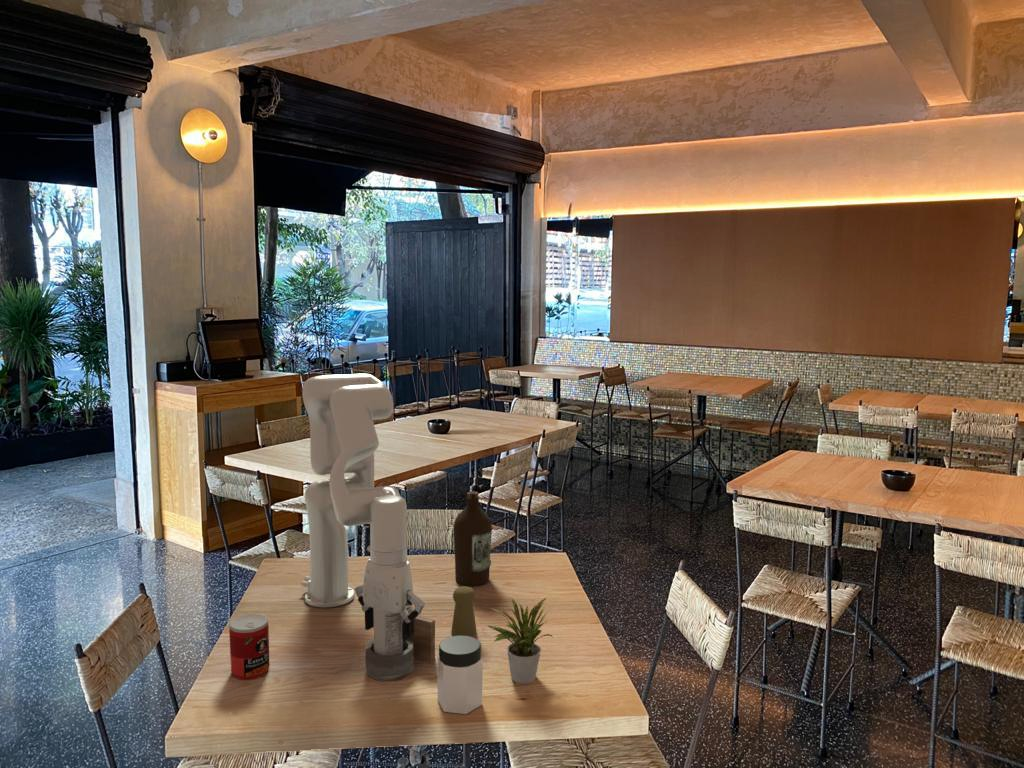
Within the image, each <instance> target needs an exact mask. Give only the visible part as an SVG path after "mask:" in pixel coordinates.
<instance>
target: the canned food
mask: <svg viewBox="0 0 1024 768" xmlns="http://www.w3.org/2000/svg"><path fill="white" fill-rule="evenodd" d="M228 630H229V653H230V672H231V674H232V676H233V677H234V678H236V679H237V680H242V681H247V680H248V681H249V680H251V681H252V680H255V679H258V678H261V677H263V676H264V675H265V674H267V673H268V671H269V669H270V639H269V637H270V635H269V634H270V632H269V631H270V630H269V618H268V617H267V616H266V615H262V614H259V613H258V614H257V613H248V614H243V615H239V616H236V617H235V618H233V619H231V621H229V625H228Z"/></svg>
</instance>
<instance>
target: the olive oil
mask: <svg viewBox="0 0 1024 768" xmlns="http://www.w3.org/2000/svg"><path fill="white" fill-rule="evenodd" d="M466 496H467V497H466V505H465V507H464V508H463V510H461V511H460V512H459V513H458V514H457V516H456V518H455V519H454V523H453V528H452V529H453V544H454V545H453V546H454V571H455V573H454V574H455V577H454V578H455V582H456V583H457V584H459V585H461V586H466V587H476V586H477V587H478V586H482V585H485V584H487V583H488V582H489V581H490V567H491V565H492V561H491V551H492V550H491V547H492V546H491V545H492V531H493V529H492V528H493V527H492V526H493V525H492V522H491V518H490V517H489V515H488V514H487V513H486V512H485V511H484V510H483V509H482V508H481V506H480V497H479V492H478V491H473V490H472V491H468V492H466Z"/></svg>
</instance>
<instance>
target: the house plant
mask: <svg viewBox="0 0 1024 768" xmlns="http://www.w3.org/2000/svg"><path fill="white" fill-rule="evenodd" d="M509 599H510V601H511V603H512V605H513V608H514V610H513V609H512V608H508V609H509V610H510V611H512V613H513V615H514V616H515V618H516V621H517V622H516V621H515V619H514V617H512V616H510V615H509V614H508V613H507V612H505V611H503V610H501V609H497V608H491V607H490V608H489V607H488V609H490V610H494V611H496V612H498V614H499V615H502V616H503V617H506V619H507V620H505V619H503V618H499V621H500V620H502V621H505V622H506V623H508V624H506V627H508V628H510V629H512V630H513V631H514V632H513V631H511V630H508V629H506V628H503V627H500V626H495V625H487V628H490V629H491V631H492V630H493V631H496V632H498V634H496V635H495V636H494V638H495V640H494V641H493V643H495V642H498V641H502V640H505V639H507V640H508V641H510V644H509V645H508V646H507V648H506V651H507V658H508V665H509V672H510V677H511V678H510V679H511V680H512V681H513V682H515V683H518V684H523V685H526V684H531V683H533V682H534V681H535V680H536V677H537V673H538V672H537V671H538V668H539V660H540V656H541V651H542V649H541V646H539V645H538V644H537V643H535V642H536V641H538V640H539V639H540V638H542V637H551V638H553V635H552V634H550V633H549V634H547V633H546V634H543V635H541V636H539V635H540V634H541V632H542V630H541V629H540V628H541V627H543V625H544V624H546V623H547V622H548V620H545V621H544V618H545V617H546V616H547V614H548V612H549V610H547V611H546V612H545V613H544V615H543V616H542V614H543V612H544V610H545V607H543V608H542V606H543V603H544V602H545V601H546V600H547V597H545V598H543V599H541V600H540V601H539V602H538V603H537V604H536V605H534V606H533V607H532V609H531V610H530V611H529V606H528V605H527V606H526V607H525V611H524V607H523V606H522V605H521V603H518V604H517V602H516V601H515V600H514V599H513V598H512V597H511V596H509ZM518 605H519V606H518ZM541 608H542V609H541ZM540 609H541V611H540ZM539 611H540V612H539ZM520 613H521V616H520ZM538 613H539V614H538ZM537 615H538V616H537ZM541 616H542V617H541ZM540 618H541V619H540ZM539 620H540V621H539ZM510 621H511V622H510ZM538 621H539V622H538ZM543 621H544V622H543ZM517 624H518V625H517Z"/></svg>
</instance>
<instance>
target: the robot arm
mask: <svg viewBox="0 0 1024 768" xmlns="http://www.w3.org/2000/svg"><path fill="white" fill-rule="evenodd" d="M301 394H302V401H303V404H304V408H305V411H306V412H307V415H308V419H309V428H310V430H309V433H310V434H309V436H310V438H309V439H310V440H309V441H310V442H309V443H310V444H309V445H310V447H309V448H310V449H309V450H310V464H311V465H310V466H311V469H312V471H313V472H314V473H315V474H316V475H319V476H329V478H328V479H327V478H326V479H319V480H316V481H314V482H312V483H310V484H309V485H308V486H307V487H306V489H305V491H304V502H305V507H306V512H307V518H308V519H307V520H308V530H309V531H308V532H309V533H308V534H309V564H310V567H309V569H310V574H309V575H310V576H309V575H305V576H304V578H303V580H302V581H301V582H300V584H301V587H306V588H307V592H306V593H305V594H304V602H305V603H306V604H307V605H309V606H311V607H316V608H333V607H335V608H336V607H340V606H344V605H345V604H348V603H350V602H351V601H352V600H353V599H354V598H355V594H356V596H357V601H358V603H359V604H360V605H361V610H362V612H364V630H366V631H369V630H371V629H372V628H374V614H373V608H375V607H378V606H379V607H382V608H383V609H384V610H385V611H387V612H390V613H394V614H399V613H400V614H401V616H402V618H403V619H404V622H403V623H402V639H403V640H404V641H406V640H407V639H409V638H410V637H412V636H413V634H414V619H415V618H416V617H417V616H420V615H421V613H422V611H423V609H424V608H425V602H424V601H423V599H421V598H420V597H419V596H417V594H415V593H414V591H413V587H414V586H413V577H412V570H411V566H410V565H411V564H410V562H409V561H408V556H407V554H408V551H407V550H408V542H407V541H408V538H407V537H408V535H407V534H408V531H407V528H408V527H407V526H408V525H407V523H408V521H407V520H408V519H407V514H408V513H407V511H408V508H407V501H406V499H405V498H404V497H402V496H401V494H400V493H399V492H398V490H397V489H396V488H395V487H393V486H390V485H384V486H376V487H375V454H374V453H375V452H376V451H377V449H378V448H379V445H380V444H379V443H380V440H379V438H378V434H377V430H376V428H375V424H374V421H376V420H386V419H388V418H390V417H391V416H392V414H393V411H394V398H393V396H392V392H391V391H390V390H389V388H388V386H387V385H386V384H385V383H384V382H383V381H381V380H380V379H378V378H377V377H376V376H374V375H372V374H370V373H350V374H349V373H348V374H347V373H346V374H323V375H316V376H312V377H309V378H308V379H306V380H305V382H304V383H303V385H302V393H301ZM352 473H353V476H345V475H347V474H352ZM367 524H369V530H370V532H369V534H370V535H369V539H370V540H369V542H370V543H369V544H370V545H367V548H366V550H367V552H368V553H370V558H368V559H367V561H366V565H365V569H364V570H365V571H364V576H363V584H360V585H358V586H356V587H354V589H353V588H352V587H350V586H349V551H348V549H349V547H348V542H349V541H348V531H347V528H346V527H355V526H360V525H367ZM413 606H414V608H413ZM407 613H409V615H408V614H407Z"/></svg>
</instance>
